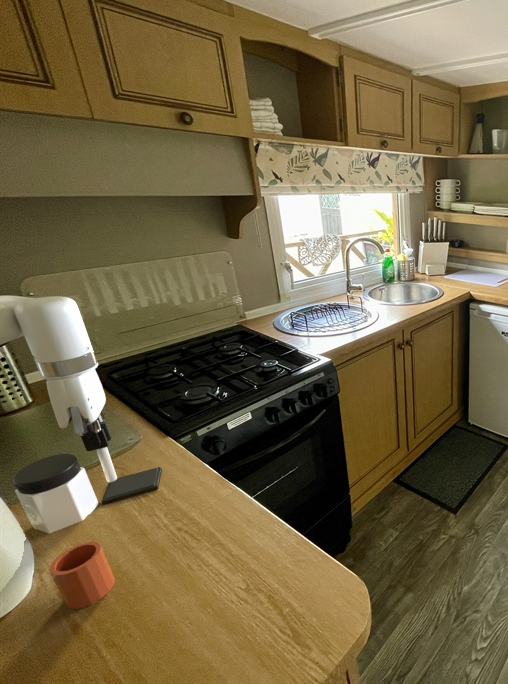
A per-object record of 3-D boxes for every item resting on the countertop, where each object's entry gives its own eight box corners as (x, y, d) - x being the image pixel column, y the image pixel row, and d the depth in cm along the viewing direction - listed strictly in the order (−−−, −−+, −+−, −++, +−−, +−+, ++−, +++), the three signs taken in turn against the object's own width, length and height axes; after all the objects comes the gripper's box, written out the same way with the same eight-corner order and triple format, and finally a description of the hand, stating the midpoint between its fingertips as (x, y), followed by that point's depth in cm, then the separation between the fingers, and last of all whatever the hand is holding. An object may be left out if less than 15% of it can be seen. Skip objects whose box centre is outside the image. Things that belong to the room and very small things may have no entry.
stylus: (106, 484, 77) (85, 424, 72) (109, 479, 79) (88, 420, 74) (116, 482, 78) (96, 423, 73) (118, 477, 79) (99, 418, 74)
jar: (24, 527, 70) (-2, 477, 66) (77, 496, 78) (57, 449, 73) (56, 540, 68) (32, 488, 64) (107, 506, 75) (88, 459, 71)
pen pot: (62, 618, 56) (43, 581, 53) (73, 586, 60) (56, 551, 58) (111, 599, 59) (95, 563, 56) (119, 570, 63) (104, 536, 60)
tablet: (102, 505, 76) (101, 501, 75) (110, 483, 81) (109, 479, 81) (158, 488, 80) (157, 485, 80) (162, 469, 86) (161, 465, 86)
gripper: (54, 352, 73) (85, 430, 79) (20, 386, 61) (60, 475, 67) (105, 345, 77) (131, 420, 83) (83, 376, 64) (115, 461, 71)
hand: (99, 444), depth 75 cm, fingers closed on stylus, 1 cm apart
